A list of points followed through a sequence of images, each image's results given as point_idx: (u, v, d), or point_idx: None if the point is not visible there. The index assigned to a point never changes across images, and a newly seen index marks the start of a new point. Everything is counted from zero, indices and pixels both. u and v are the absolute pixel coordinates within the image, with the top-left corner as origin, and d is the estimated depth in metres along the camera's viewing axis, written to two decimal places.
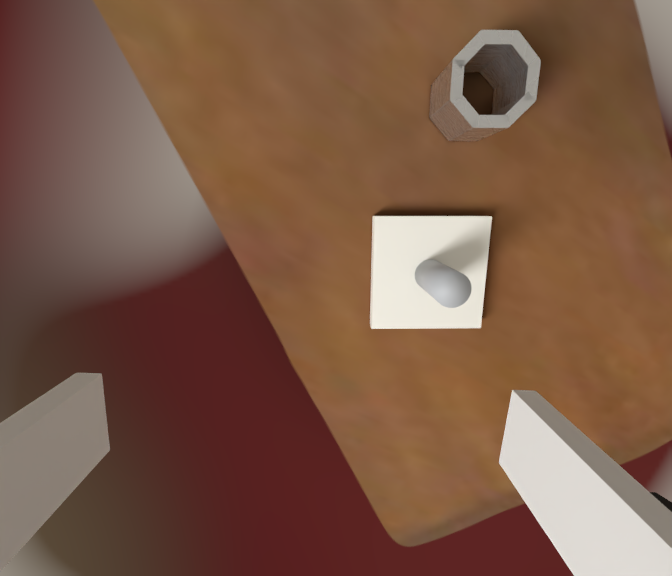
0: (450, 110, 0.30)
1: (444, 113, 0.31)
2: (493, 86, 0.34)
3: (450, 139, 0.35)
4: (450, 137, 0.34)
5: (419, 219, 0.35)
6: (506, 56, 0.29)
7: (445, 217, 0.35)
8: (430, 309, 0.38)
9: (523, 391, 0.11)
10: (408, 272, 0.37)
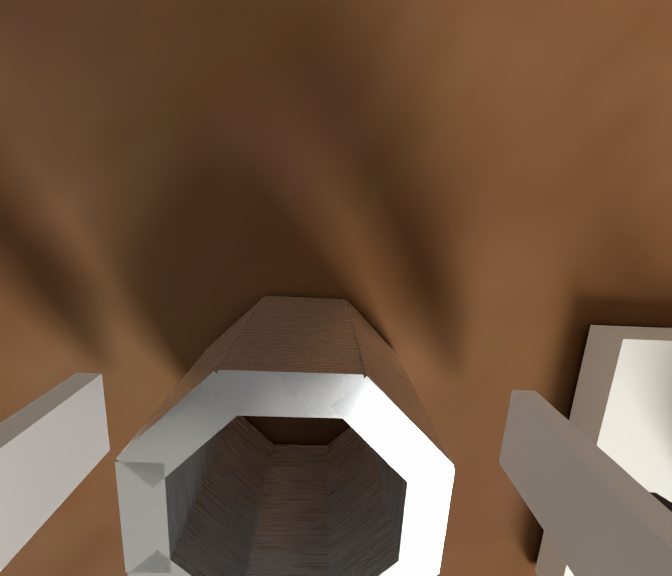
0: None
1: None
2: None
3: None
4: None
5: None
6: None
7: None
8: None
9: (523, 391, 0.11)
10: None
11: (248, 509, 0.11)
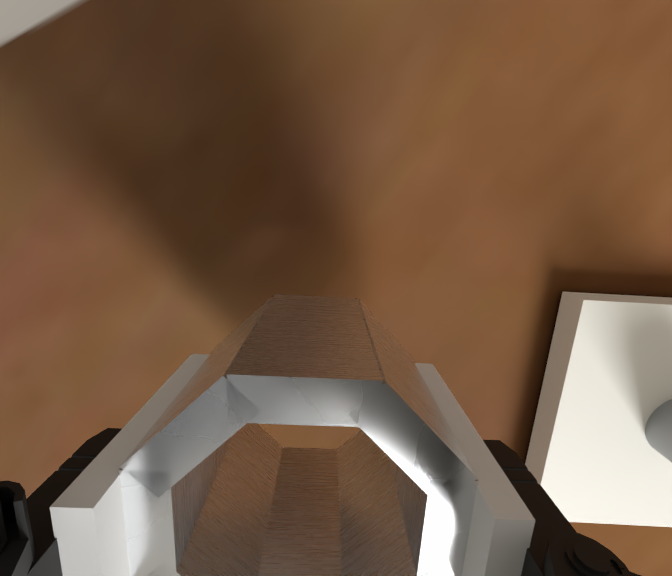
0: None
1: None
2: None
3: None
4: None
5: (556, 445, 0.17)
6: None
7: (563, 396, 0.17)
8: None
9: (421, 364, 0.13)
10: (661, 465, 0.17)
11: (257, 516, 0.10)
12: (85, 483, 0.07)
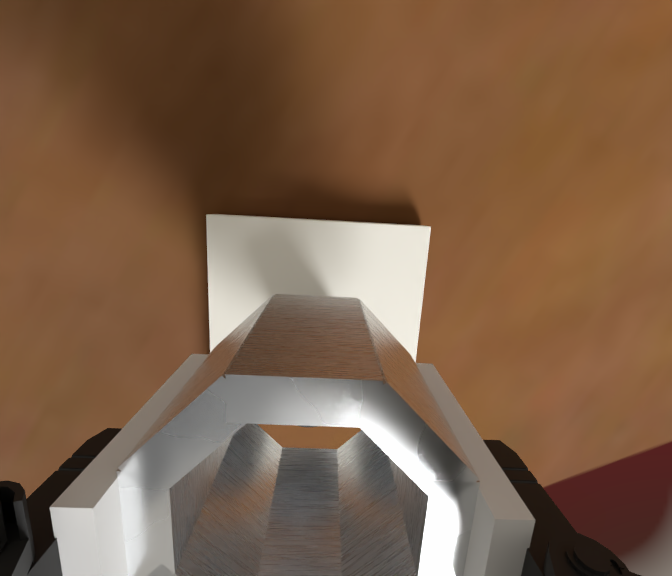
0: None
1: None
2: None
3: None
4: None
5: (215, 346, 0.20)
6: None
7: (210, 301, 0.19)
8: None
9: (421, 364, 0.13)
10: None
11: (256, 517, 0.10)
12: (85, 483, 0.07)
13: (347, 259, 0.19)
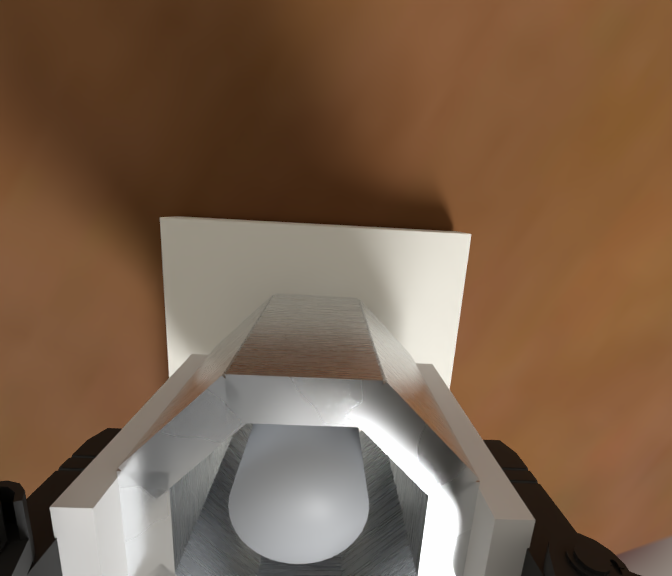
0: None
1: None
2: None
3: None
4: None
5: None
6: None
7: (169, 335, 0.14)
8: None
9: (421, 364, 0.13)
10: None
11: None
12: (85, 483, 0.07)
13: (355, 278, 0.14)
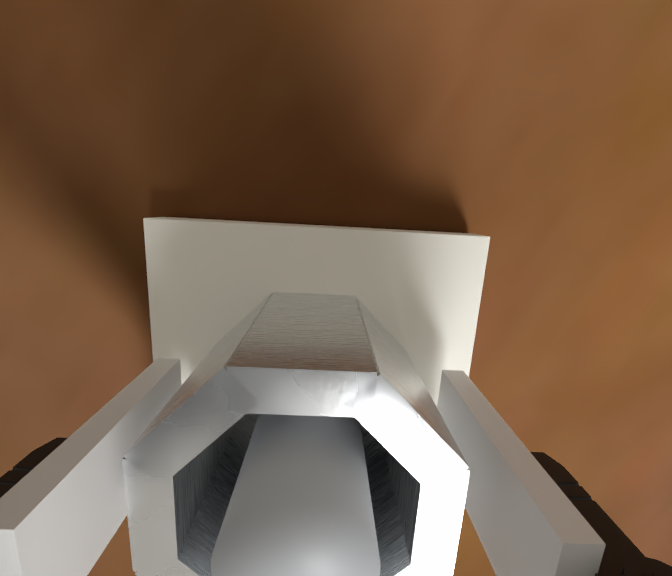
0: None
1: None
2: None
3: None
4: None
5: None
6: None
7: (155, 349, 0.13)
8: None
9: (451, 370, 0.12)
10: None
11: None
12: (11, 501, 0.06)
13: (361, 285, 0.13)
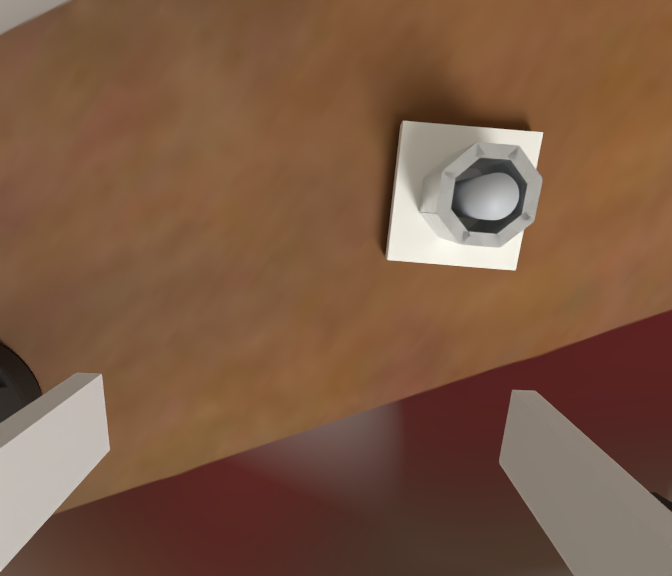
0: None
1: None
2: None
3: None
4: None
5: (396, 209, 0.31)
6: None
7: (398, 179, 0.31)
8: None
9: (523, 391, 0.11)
10: None
11: None
12: None
13: None
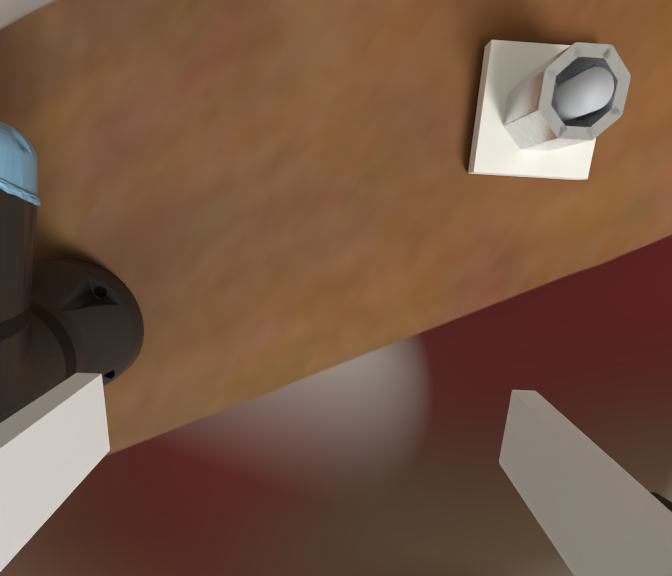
0: None
1: None
2: None
3: None
4: None
5: (483, 124, 0.35)
6: None
7: (485, 94, 0.34)
8: None
9: (523, 391, 0.11)
10: None
11: None
12: None
13: None
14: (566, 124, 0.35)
